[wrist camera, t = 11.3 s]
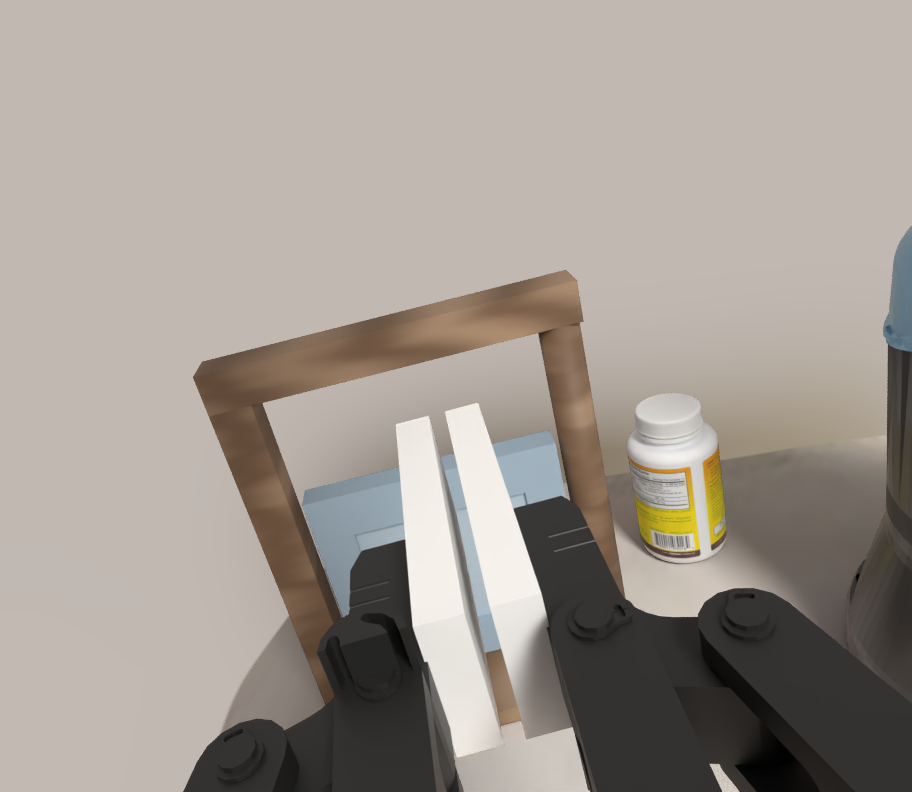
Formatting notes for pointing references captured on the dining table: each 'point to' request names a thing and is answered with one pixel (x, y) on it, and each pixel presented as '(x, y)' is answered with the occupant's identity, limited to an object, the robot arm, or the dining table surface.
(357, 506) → the panel
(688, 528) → the supplement bottle
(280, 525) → the gate frame
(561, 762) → the dining table surface
